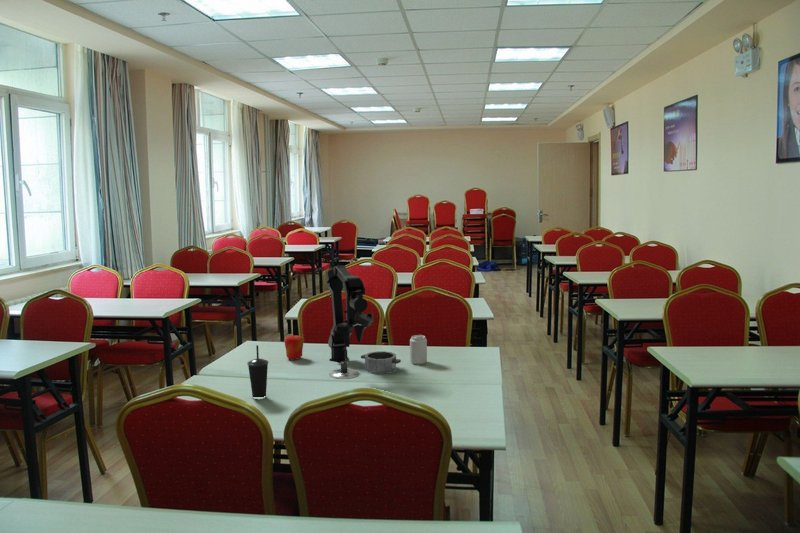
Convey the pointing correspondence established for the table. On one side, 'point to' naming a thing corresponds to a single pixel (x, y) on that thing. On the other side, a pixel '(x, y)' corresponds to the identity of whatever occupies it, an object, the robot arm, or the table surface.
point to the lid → (344, 372)
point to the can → (418, 349)
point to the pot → (380, 362)
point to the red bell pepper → (294, 346)
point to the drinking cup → (258, 375)
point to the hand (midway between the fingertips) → (353, 344)
